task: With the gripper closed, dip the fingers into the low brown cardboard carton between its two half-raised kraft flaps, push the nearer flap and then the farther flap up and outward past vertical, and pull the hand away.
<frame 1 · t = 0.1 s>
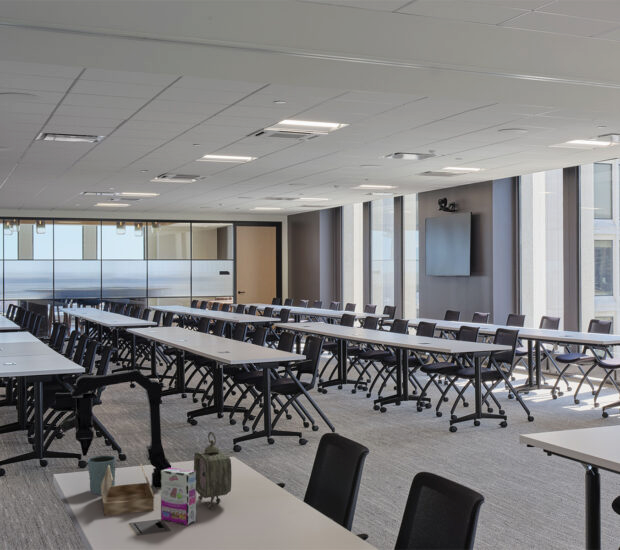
hand: (84, 452, 271), 15 cm above the table, fingers open, 9 cm apart
teal cup: (101, 491, 273), on the table
flap 2: (147, 479, 260), point 8 cm above the table, hinge at 70.0°, touching carton
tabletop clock: (212, 504, 258), on the table
candy bar box: (178, 521, 240), on the table
carton: (127, 504, 257), on the table
flap 1: (106, 483, 255), point 8 cm above the table, hinge at 70.0°
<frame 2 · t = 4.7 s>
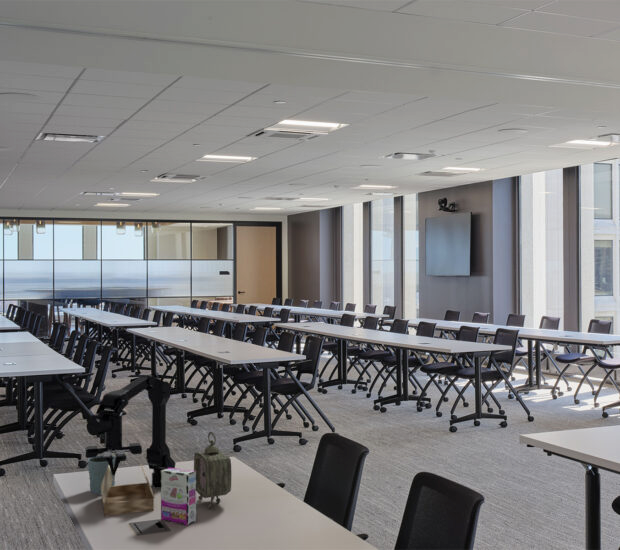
hand: (113, 474, 256), 11 cm above the table, fingers closed
flap 1: (106, 483, 255), point 8 cm above the table, hinge at 70.0°, touching gripper
everything else where it was.
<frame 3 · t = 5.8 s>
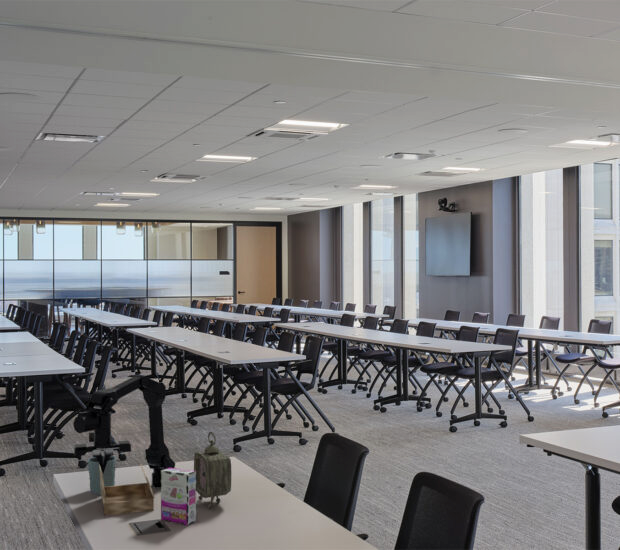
hand: (102, 473, 255), 12 cm above the table, fingers closed, pressing on flap 1
flap 1: (101, 483, 255), point 8 cm above the table, hinge at 92.4°, touching gripper
everything else where it was.
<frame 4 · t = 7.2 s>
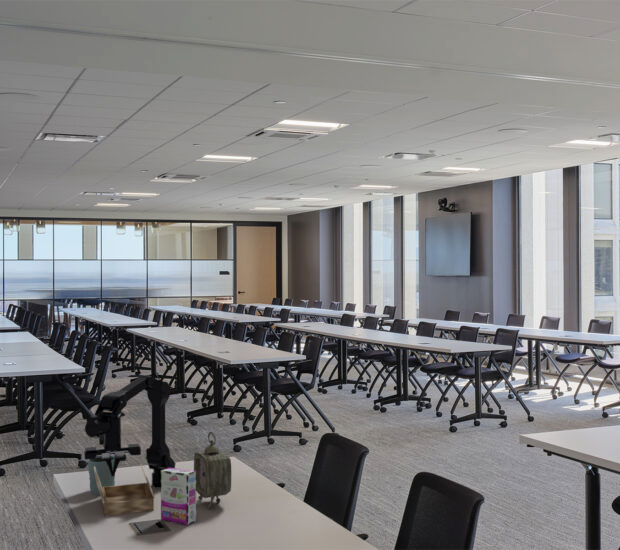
hand: (112, 476, 256), 10 cm above the table, fingers closed
flap 1: (99, 484, 254), point 8 cm above the table, hinge at 106.5°
everything else where it was.
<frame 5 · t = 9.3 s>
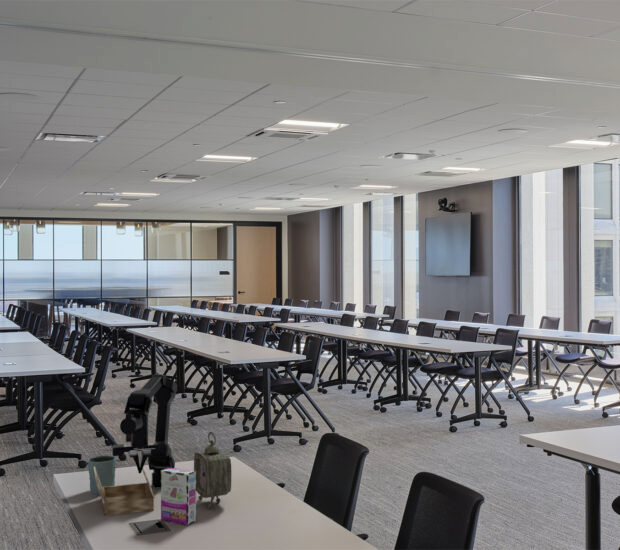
hand: (139, 473, 259), 10 cm above the table, fingers closed
flap 2: (147, 479, 260), point 8 cm above the table, hinge at 70.0°, touching carton, gripper
flap 1: (98, 484, 254), point 8 cm above the table, hinge at 106.8°
everything else where it was.
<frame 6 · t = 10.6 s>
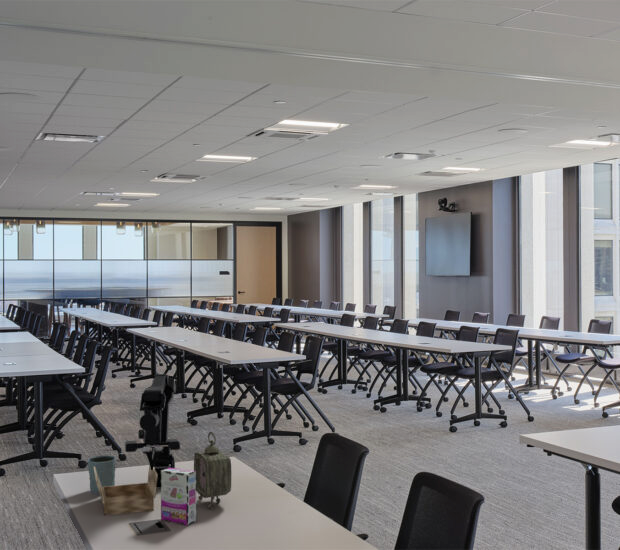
hand: (151, 469, 260), 11 cm above the table, fingers closed
flap 2: (152, 479, 260), point 8 cm above the table, hinge at 96.4°, touching carton, gripper
everything else where it was.
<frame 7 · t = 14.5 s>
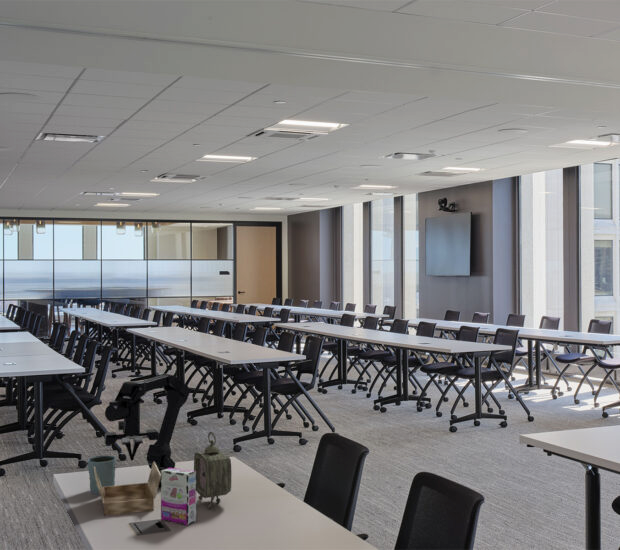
hand: (131, 460, 267), 13 cm above the table, fingers closed
flap 2: (154, 479, 260), point 8 cm above the table, hinge at 105.6°, touching carton
everything else where it was.
at the end: flap 1 at +107° (first picture: +70°); flap 2 at +106° (first picture: +70°) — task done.
